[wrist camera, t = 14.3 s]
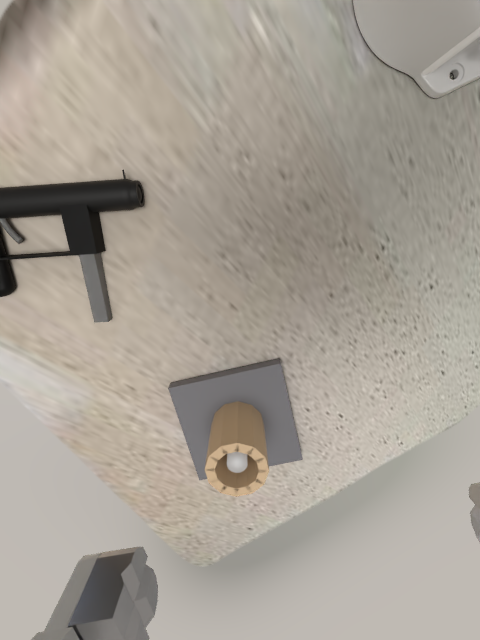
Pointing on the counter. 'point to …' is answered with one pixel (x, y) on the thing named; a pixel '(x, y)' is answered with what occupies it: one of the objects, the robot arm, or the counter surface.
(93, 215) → the black two-tone tubular device
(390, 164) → the counter surface
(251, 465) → the paper roll
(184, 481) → the counter surface
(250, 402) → the roll holder
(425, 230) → the counter surface
